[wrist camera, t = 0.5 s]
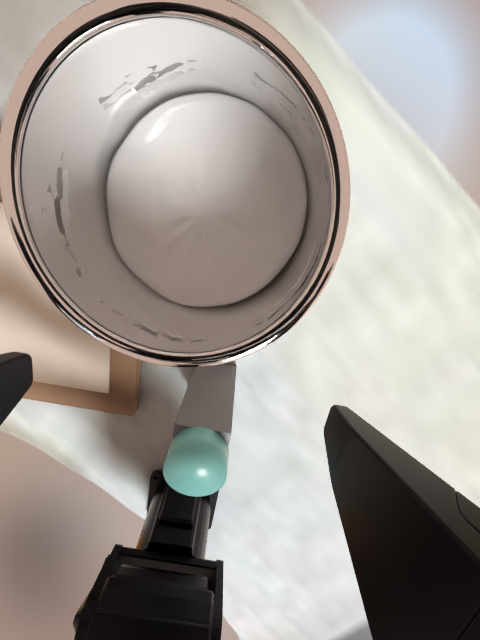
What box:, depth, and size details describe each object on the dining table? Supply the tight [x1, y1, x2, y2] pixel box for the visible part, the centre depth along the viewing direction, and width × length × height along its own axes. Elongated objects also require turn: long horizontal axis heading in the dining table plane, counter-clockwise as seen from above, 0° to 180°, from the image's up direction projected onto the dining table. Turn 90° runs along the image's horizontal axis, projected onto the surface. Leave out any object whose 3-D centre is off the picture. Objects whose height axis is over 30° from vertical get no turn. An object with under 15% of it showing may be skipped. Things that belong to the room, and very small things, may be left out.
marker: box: [163, 364, 236, 497], centre depth 20 cm, size 3×3×9 cm
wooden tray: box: [0, 189, 142, 416], centre depth 21 cm, size 18×16×2 cm
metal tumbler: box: [0, 0, 350, 367], centre depth 13 cm, size 7×7×15 cm
